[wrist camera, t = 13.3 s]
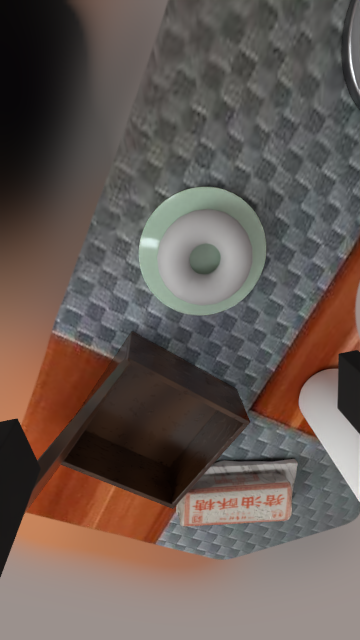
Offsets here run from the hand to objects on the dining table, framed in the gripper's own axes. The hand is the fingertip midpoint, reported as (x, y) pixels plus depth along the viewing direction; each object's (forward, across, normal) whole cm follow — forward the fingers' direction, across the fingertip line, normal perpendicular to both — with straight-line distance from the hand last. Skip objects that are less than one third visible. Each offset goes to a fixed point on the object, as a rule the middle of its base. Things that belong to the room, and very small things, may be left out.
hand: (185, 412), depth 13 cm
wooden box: (+25, -5, -18) cm, 31 cm away
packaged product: (+25, +5, -35) cm, 44 cm away
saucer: (+25, +5, +1) cm, 25 cm away
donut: (+24, +5, +1) cm, 25 cm away
